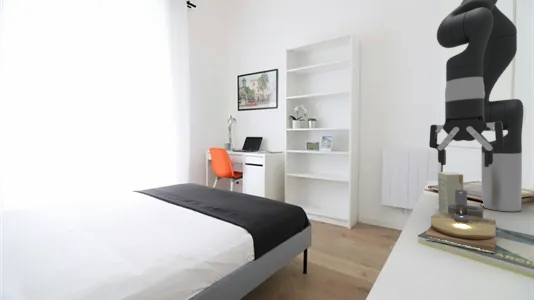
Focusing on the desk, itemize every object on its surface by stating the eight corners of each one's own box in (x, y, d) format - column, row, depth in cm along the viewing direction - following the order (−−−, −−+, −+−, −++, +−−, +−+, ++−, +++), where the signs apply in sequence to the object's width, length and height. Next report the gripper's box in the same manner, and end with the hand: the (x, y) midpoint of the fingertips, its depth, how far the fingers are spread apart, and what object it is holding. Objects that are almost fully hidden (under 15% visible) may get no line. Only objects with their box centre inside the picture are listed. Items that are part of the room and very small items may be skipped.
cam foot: (432, 217, 69) (432, 187, 69) (492, 225, 62) (492, 192, 62) (428, 232, 59) (428, 197, 59) (498, 243, 52) (499, 204, 52)
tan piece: (439, 217, 74) (439, 201, 74) (495, 225, 66) (495, 207, 66) (425, 240, 59) (425, 220, 59) (495, 254, 51) (495, 231, 51)
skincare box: (464, 217, 74) (464, 174, 73) (447, 216, 75) (447, 174, 74) (453, 210, 80) (453, 171, 79) (437, 210, 81) (437, 171, 80)
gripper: (426, 101, 65) (426, 166, 66) (502, 93, 55) (502, 169, 56) (433, 103, 70) (434, 162, 71) (504, 95, 60) (504, 165, 61)
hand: (464, 165), depth 63 cm, fingers open, 8 cm apart
